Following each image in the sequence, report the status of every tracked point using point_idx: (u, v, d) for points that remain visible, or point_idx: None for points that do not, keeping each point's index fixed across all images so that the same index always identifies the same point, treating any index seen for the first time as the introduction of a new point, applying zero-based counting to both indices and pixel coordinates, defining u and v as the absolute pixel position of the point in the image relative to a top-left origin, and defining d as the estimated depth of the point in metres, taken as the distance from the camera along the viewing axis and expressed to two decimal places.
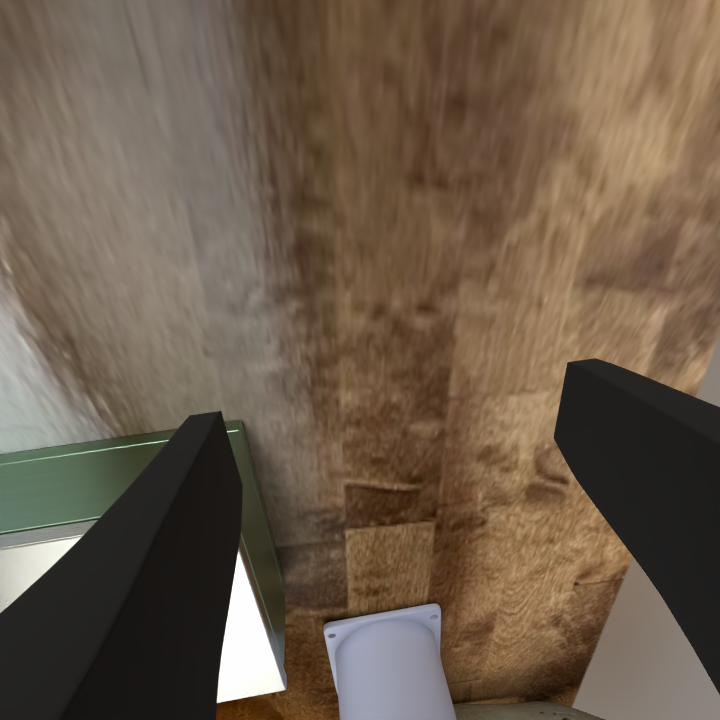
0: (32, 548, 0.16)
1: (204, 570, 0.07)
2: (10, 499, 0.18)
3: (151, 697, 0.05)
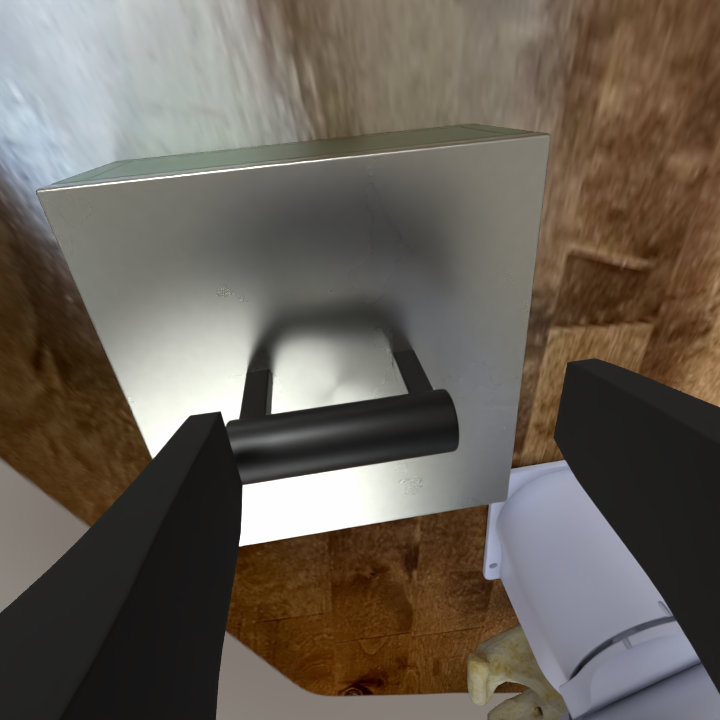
0: (281, 174, 0.11)
1: (204, 570, 0.07)
2: (215, 160, 0.13)
3: (151, 697, 0.05)
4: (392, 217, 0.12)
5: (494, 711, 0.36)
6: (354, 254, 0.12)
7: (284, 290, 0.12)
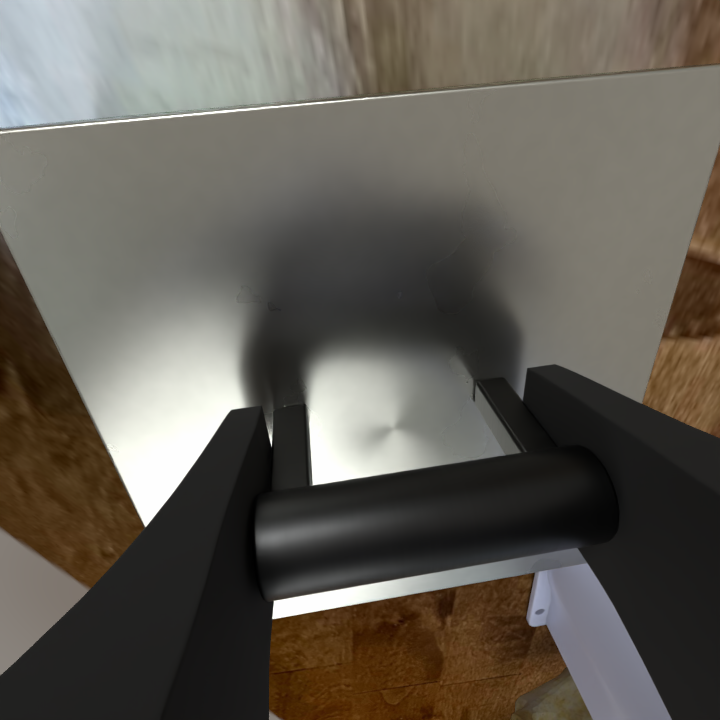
0: (340, 116, 0.07)
1: None
2: None
3: (225, 683, 0.05)
4: (498, 188, 0.08)
5: None
6: (437, 242, 0.08)
7: (333, 294, 0.09)
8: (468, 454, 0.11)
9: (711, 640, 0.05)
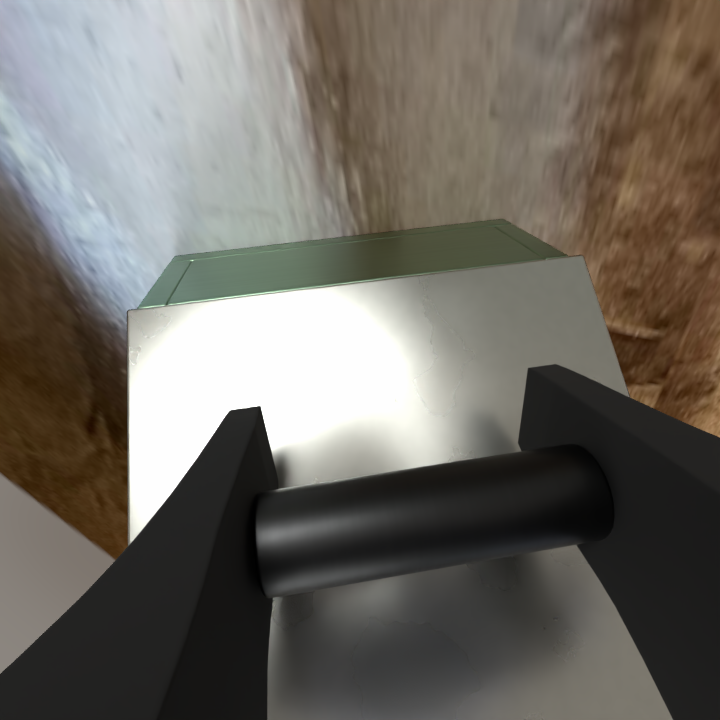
0: (343, 291, 0.12)
1: (254, 562, 0.07)
2: (276, 271, 0.14)
3: (223, 683, 0.05)
4: (451, 324, 0.12)
5: None
6: (417, 360, 0.12)
7: (343, 400, 0.11)
8: (499, 584, 0.10)
9: (714, 639, 0.05)
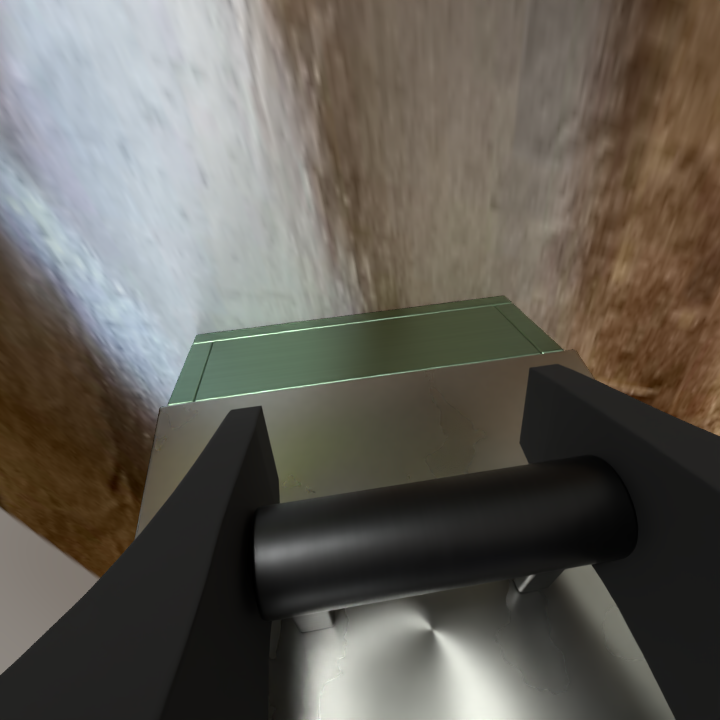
0: (356, 385, 0.13)
1: None
2: (293, 360, 0.15)
3: (225, 683, 0.05)
4: (459, 408, 0.12)
5: None
6: (428, 440, 0.12)
7: (356, 479, 0.11)
8: (548, 685, 0.08)
9: (716, 640, 0.05)
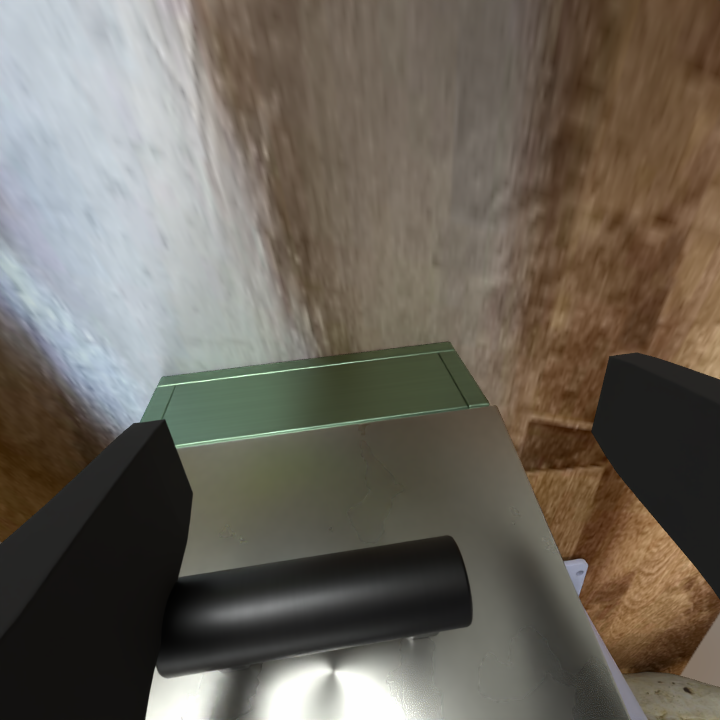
0: (294, 438, 0.15)
1: (134, 582, 0.07)
2: (245, 407, 0.17)
3: (48, 716, 0.05)
4: (384, 462, 0.14)
5: None
6: (352, 493, 0.13)
7: (284, 530, 0.13)
8: None
9: None
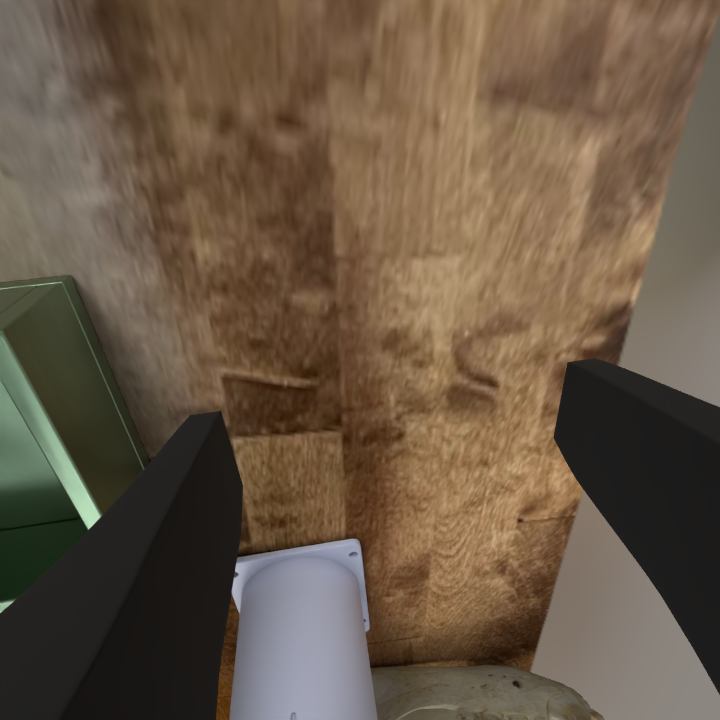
0: None
1: (204, 570, 0.07)
2: None
3: (151, 697, 0.05)
4: None
5: None
6: None
7: None
8: None
9: None
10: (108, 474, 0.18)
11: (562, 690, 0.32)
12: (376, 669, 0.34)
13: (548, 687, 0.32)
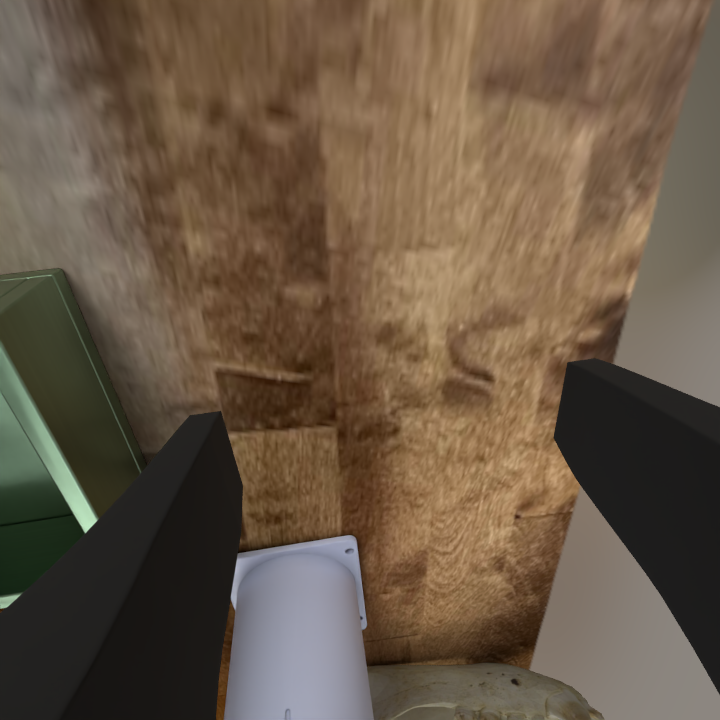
0: None
1: (204, 570, 0.07)
2: None
3: (151, 697, 0.05)
4: None
5: None
6: None
7: None
8: None
9: None
10: (100, 468, 0.18)
11: (561, 688, 0.32)
12: (374, 668, 0.34)
13: (547, 685, 0.32)
